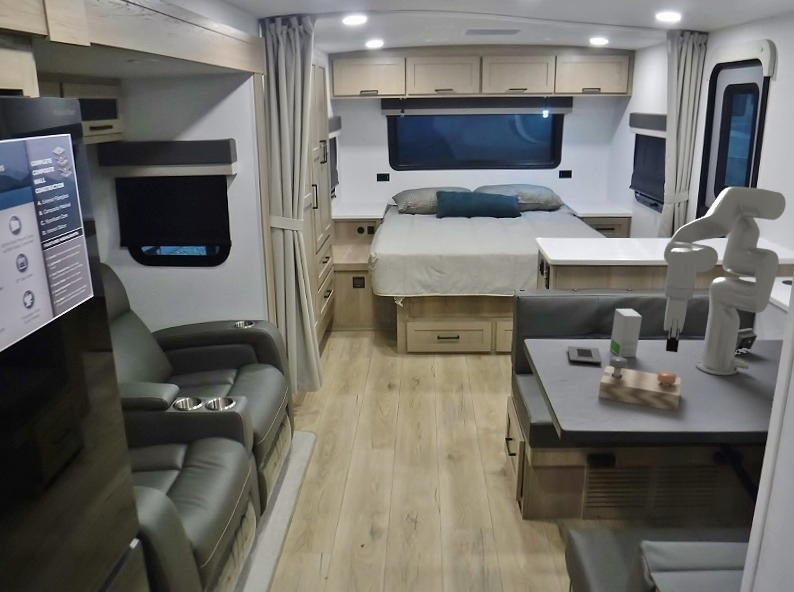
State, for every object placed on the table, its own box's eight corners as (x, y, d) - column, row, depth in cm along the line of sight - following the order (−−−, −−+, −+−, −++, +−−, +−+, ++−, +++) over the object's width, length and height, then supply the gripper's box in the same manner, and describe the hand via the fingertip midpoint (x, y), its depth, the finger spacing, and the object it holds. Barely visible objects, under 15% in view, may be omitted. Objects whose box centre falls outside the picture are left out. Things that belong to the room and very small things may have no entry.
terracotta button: (673, 393, 194) (676, 373, 192) (672, 399, 190) (675, 379, 188) (655, 390, 196) (658, 370, 194) (654, 396, 192) (657, 376, 190)
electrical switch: (741, 349, 236) (747, 325, 232) (753, 355, 231) (759, 331, 228) (722, 352, 232) (728, 329, 229) (734, 358, 228) (741, 334, 224)
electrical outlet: (601, 367, 218) (602, 360, 217) (569, 364, 220) (570, 358, 219) (597, 353, 230) (598, 347, 229) (567, 351, 232) (568, 345, 231)
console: (678, 392, 198) (680, 377, 196) (677, 411, 186) (679, 395, 184) (604, 380, 206) (606, 365, 205) (598, 397, 194) (600, 381, 193)
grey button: (625, 377, 199) (628, 358, 197) (624, 383, 194) (626, 363, 193) (608, 375, 201) (611, 355, 199) (606, 380, 196) (609, 361, 195)
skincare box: (609, 349, 233) (614, 308, 229) (626, 348, 234) (631, 308, 230) (619, 357, 225) (624, 315, 221) (637, 357, 226) (642, 315, 222)
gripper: (666, 283, 192) (659, 340, 197) (663, 297, 179) (656, 358, 184) (693, 285, 189) (685, 343, 194) (693, 300, 176) (684, 362, 181)
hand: (671, 350), depth 189 cm, fingers closed
